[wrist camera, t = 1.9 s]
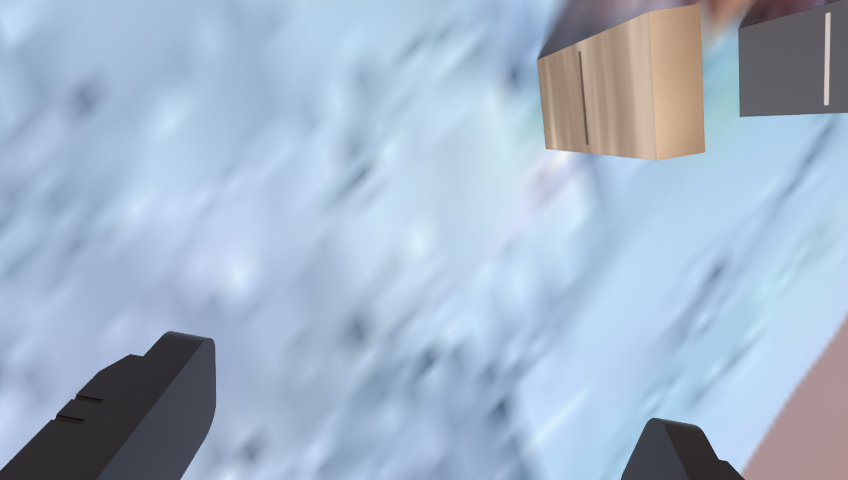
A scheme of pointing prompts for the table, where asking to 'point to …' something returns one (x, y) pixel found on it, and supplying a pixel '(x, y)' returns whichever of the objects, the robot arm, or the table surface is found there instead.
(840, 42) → the charcoal domino
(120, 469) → the robot arm
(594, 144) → the maple domino
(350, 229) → the table surface
